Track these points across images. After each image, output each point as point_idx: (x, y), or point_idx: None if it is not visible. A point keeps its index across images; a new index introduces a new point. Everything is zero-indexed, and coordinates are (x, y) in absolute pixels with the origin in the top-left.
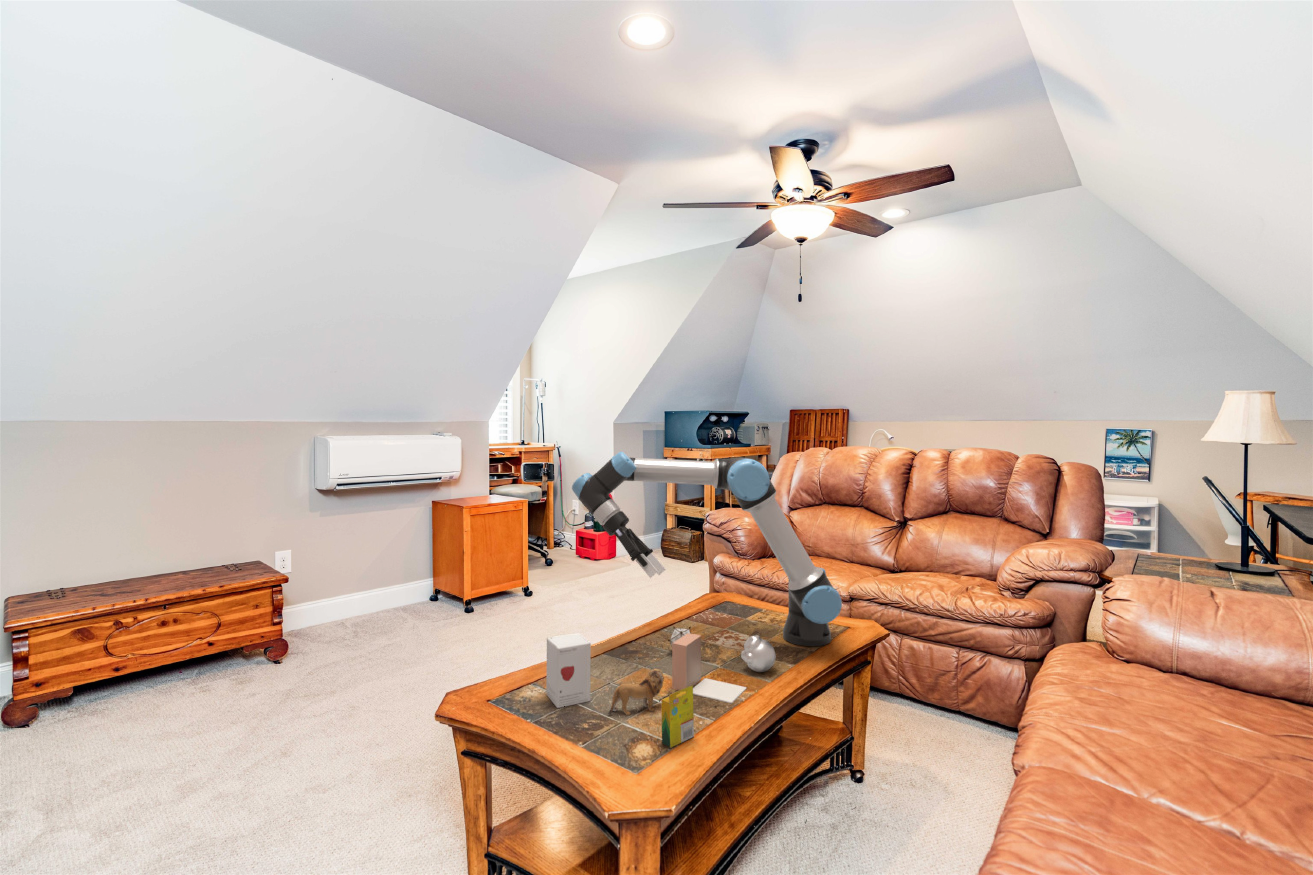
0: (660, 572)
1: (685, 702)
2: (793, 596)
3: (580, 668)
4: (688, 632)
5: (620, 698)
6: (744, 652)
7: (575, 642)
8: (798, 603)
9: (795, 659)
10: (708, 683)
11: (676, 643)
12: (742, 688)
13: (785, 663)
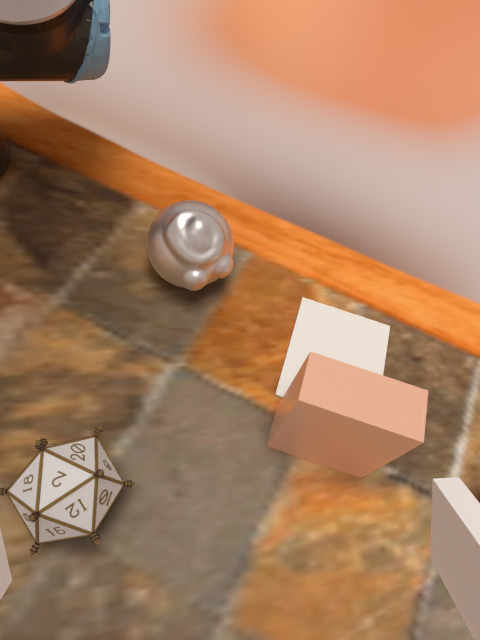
0: (1, 561)
1: None
2: (29, 44)
3: None
4: (66, 450)
5: None
6: (205, 273)
7: None
8: (50, 56)
9: (102, 196)
10: None
11: (420, 426)
12: (310, 305)
13: (131, 217)
